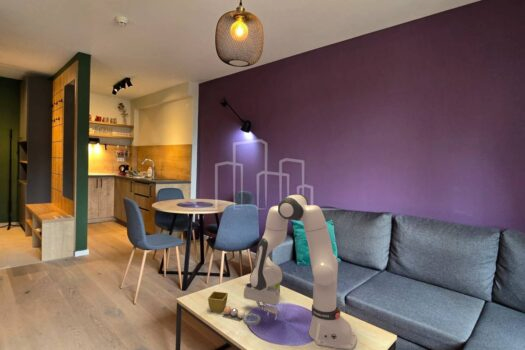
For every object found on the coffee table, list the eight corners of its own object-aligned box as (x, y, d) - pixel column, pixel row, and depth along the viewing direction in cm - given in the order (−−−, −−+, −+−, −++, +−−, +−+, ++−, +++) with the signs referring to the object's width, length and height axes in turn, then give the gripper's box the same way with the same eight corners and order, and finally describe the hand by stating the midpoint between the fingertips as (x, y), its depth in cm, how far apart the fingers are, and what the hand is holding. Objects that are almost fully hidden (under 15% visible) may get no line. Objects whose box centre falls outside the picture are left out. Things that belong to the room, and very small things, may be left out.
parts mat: (246, 317, 160) (246, 315, 160) (240, 323, 154) (240, 321, 154) (228, 312, 165) (228, 310, 165) (221, 318, 158) (221, 316, 158)
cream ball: (246, 316, 158) (246, 309, 158) (242, 320, 155) (242, 313, 155) (239, 315, 160) (239, 307, 160) (235, 318, 156) (236, 311, 156)
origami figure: (284, 317, 161) (284, 308, 161) (275, 323, 154) (275, 314, 154) (266, 309, 168) (267, 301, 168) (257, 315, 162) (257, 306, 162)
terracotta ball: (232, 313, 162) (232, 306, 162) (228, 316, 158) (228, 309, 158) (226, 311, 164) (226, 304, 163) (222, 315, 160) (222, 307, 160)
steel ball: (239, 315, 160) (239, 307, 160) (235, 318, 157) (235, 311, 156) (232, 313, 162) (232, 306, 162) (229, 316, 158) (229, 309, 158)
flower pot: (222, 316, 161) (222, 300, 160) (207, 314, 162) (207, 298, 162) (227, 308, 169) (228, 292, 169) (213, 306, 171) (213, 291, 170)
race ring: (262, 320, 157) (262, 316, 157) (255, 328, 149) (255, 324, 149) (248, 316, 161) (248, 312, 160) (240, 324, 153) (240, 320, 153)
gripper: (281, 285, 162) (280, 310, 163) (247, 279, 171) (247, 302, 172) (277, 290, 157) (276, 316, 158) (242, 283, 165) (242, 307, 166)
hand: (261, 309), depth 165 cm, fingers closed
